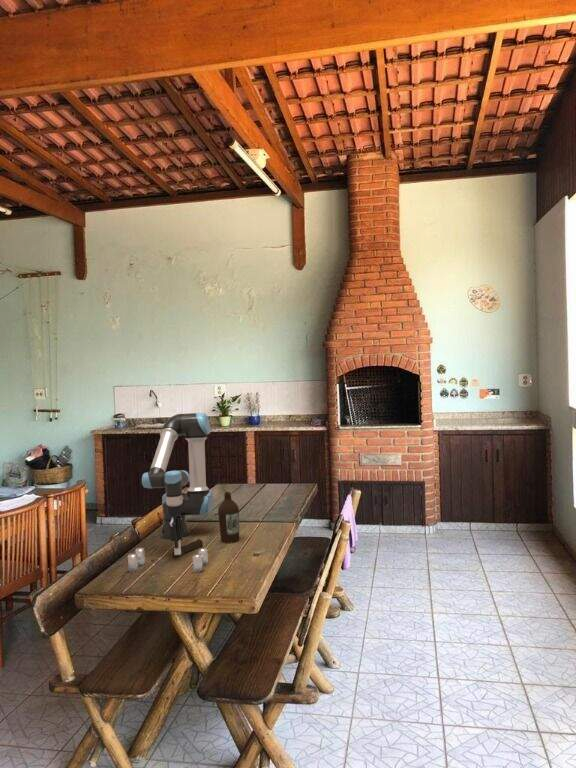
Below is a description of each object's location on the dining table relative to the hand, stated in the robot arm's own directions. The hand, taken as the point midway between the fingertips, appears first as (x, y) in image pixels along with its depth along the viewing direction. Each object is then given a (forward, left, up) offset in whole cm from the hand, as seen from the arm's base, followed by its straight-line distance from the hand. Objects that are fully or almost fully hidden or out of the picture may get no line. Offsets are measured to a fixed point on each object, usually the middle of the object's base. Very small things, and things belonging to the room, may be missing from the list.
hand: (177, 554), depth 269 cm
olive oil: (-27, +18, -2) cm, 33 cm away
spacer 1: (+16, -15, -2) cm, 22 cm away
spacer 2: (+8, -15, -2) cm, 17 cm away
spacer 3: (+16, +15, -2) cm, 22 cm away
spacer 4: (+8, +15, -2) cm, 17 cm away
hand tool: (-9, +2, -2) cm, 9 cm away
